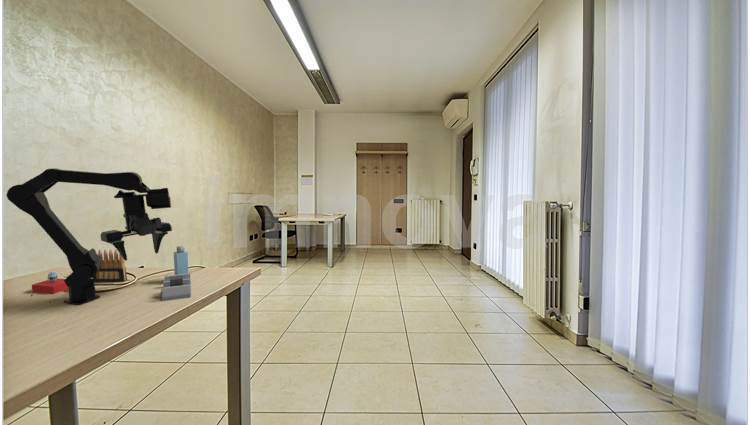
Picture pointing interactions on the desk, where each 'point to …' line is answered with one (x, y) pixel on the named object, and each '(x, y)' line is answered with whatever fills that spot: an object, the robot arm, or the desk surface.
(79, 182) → the robot arm
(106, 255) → the ammunition clip
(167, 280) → the organizer
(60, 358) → the desk surface
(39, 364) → the desk surface
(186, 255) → the blue plug
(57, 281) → the red block with knob
